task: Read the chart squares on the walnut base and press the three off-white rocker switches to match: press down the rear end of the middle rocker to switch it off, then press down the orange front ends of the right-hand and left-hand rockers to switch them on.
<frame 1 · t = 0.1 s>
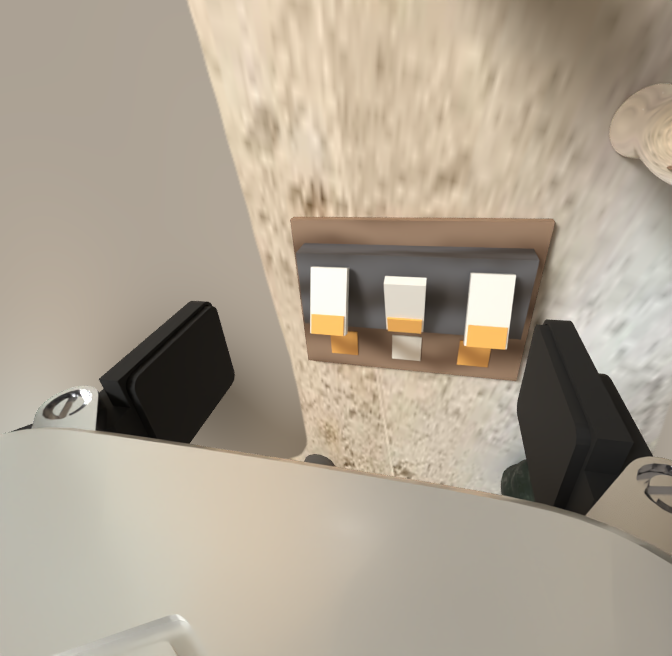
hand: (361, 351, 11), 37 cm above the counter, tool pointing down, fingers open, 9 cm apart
squash: (546, 470, 62), on the counter
rocker a: (329, 301, 46), point 7 cm above the counter, hinge at -20.0°
beige tall curved piece: (646, 122, 35), on the counter
rocker b: (404, 306, 43), point 7 cm above the counter, hinge at 20.0°
switch unit: (409, 299, 51), on the counter
rocker c: (488, 310, 41), point 7 cm above the counter, hinge at -20.0°
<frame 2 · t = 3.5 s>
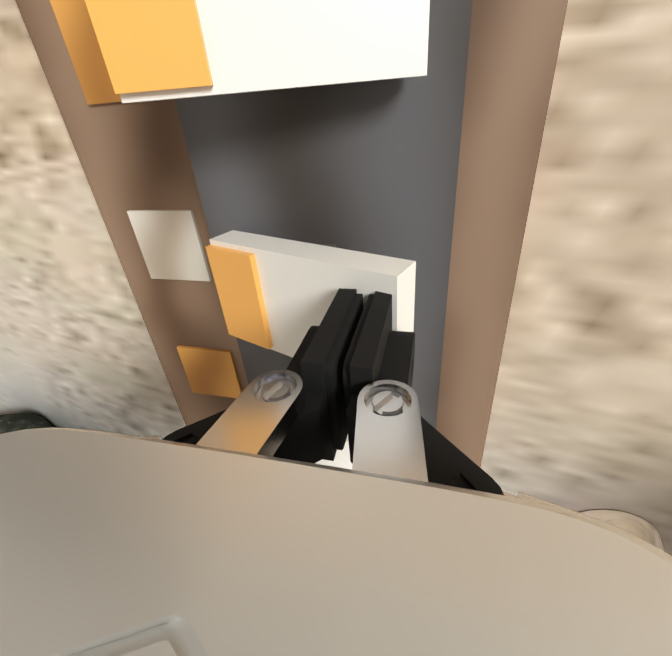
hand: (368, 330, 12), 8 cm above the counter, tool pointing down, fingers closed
squash: (62, 444, 41), on the counter
beige tall curved piece: (604, 533, 27), on the counter
rocker b: (304, 307, 14), point 7 cm above the counter, hinge at 20.0°, touching gripper
switch unit: (295, 240, 20), on the counter
rocker c: (328, 467, 19), point 7 cm above the counter, hinge at -20.0°
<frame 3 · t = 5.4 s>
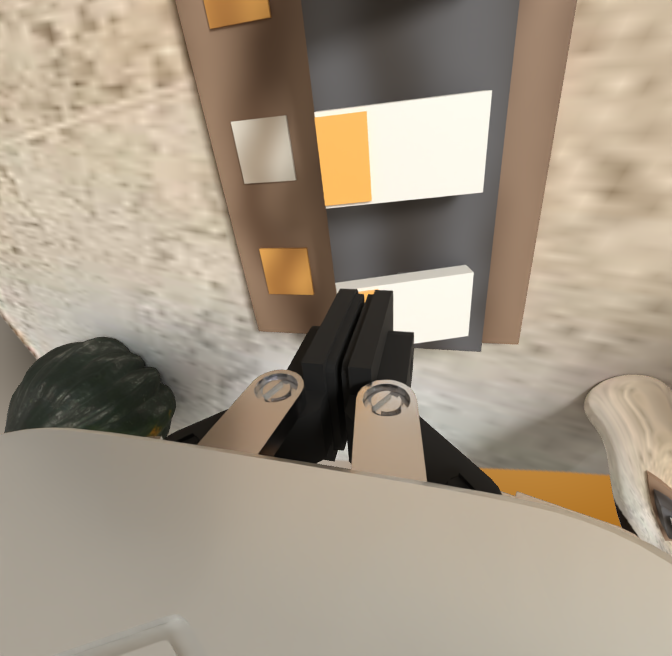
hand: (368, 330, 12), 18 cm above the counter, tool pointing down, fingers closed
squash: (135, 373, 46), on the counter
beige tall curved piece: (625, 401, 31), on the counter
rocker b: (401, 152, 19), point 7 cm above the counter, hinge at -12.9°
switch unit: (367, 139, 25), on the counter
rocker c: (404, 311, 23), point 7 cm above the counter, hinge at -20.0°
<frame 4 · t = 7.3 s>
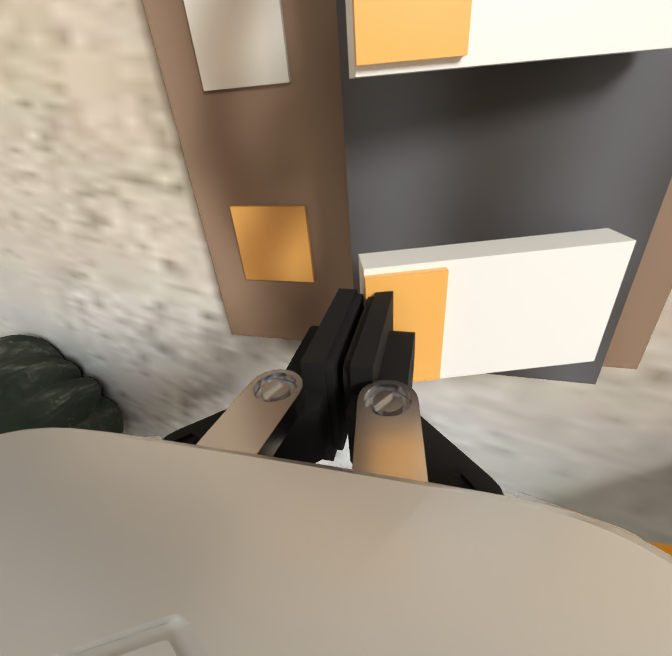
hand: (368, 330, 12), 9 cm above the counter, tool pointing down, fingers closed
squash: (73, 382, 35), on the counter
switch unit: (418, 6, 14), on the counter
rocker c: (484, 312, 13), point 7 cm above the counter, hinge at -19.5°, touching gripper
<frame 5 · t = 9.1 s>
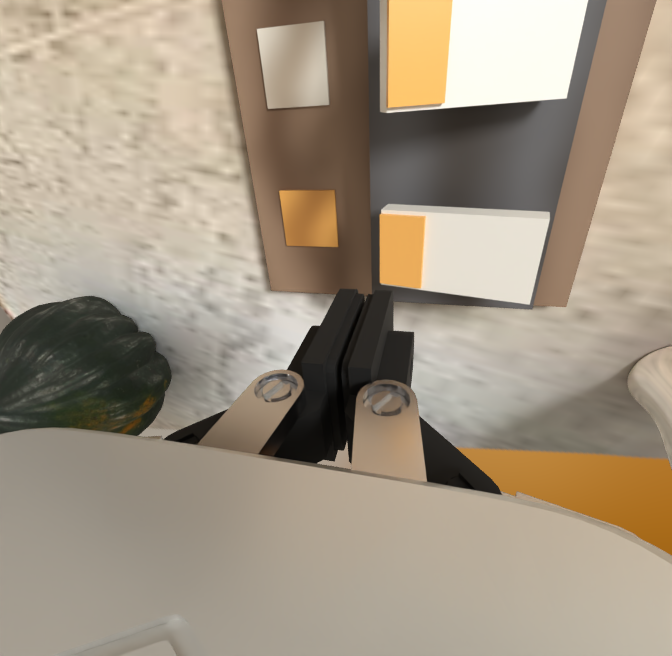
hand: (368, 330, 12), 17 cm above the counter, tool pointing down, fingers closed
squash: (126, 341, 41), on the counter
rocker b: (480, 42, 15), point 7 cm above the counter, hinge at -21.7°
switch unit: (415, 58, 22), on the counter
rocker c: (455, 253, 20), point 7 cm above the counter, hinge at 10.9°
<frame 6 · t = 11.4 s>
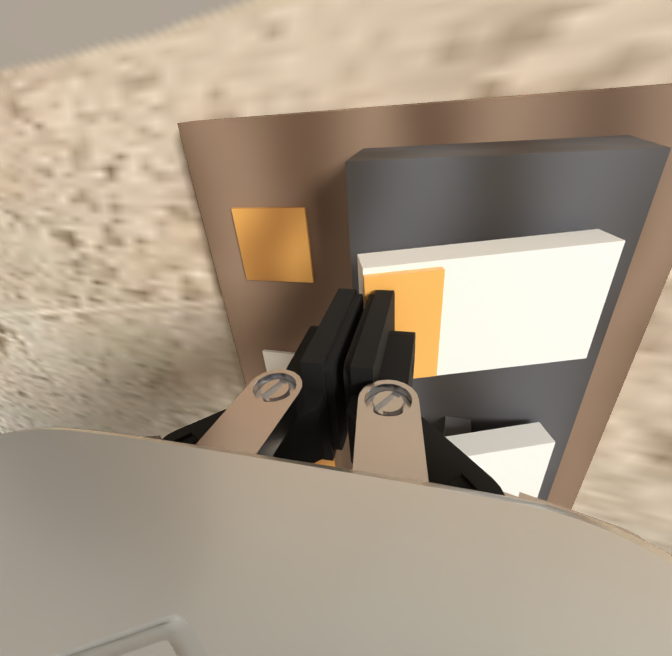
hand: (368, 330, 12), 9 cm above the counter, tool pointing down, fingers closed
rocker a: (480, 311, 13), point 7 cm above the counter, hinge at -19.8°, touching gripper
rocker b: (456, 480, 18), point 7 cm above the counter, hinge at -22.2°
switch unit: (406, 376, 24), on the counter
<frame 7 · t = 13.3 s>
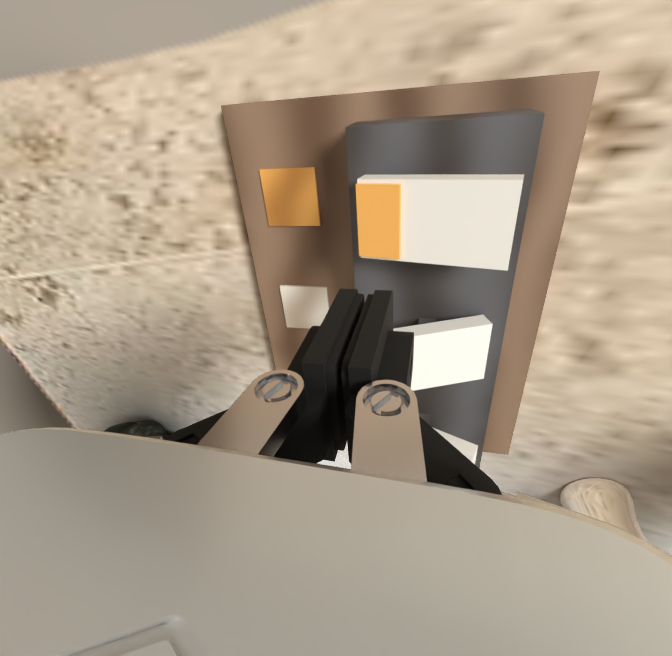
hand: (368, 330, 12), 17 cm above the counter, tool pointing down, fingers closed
squash: (166, 444, 51), on the counter
rocker a: (432, 221, 20), point 7 cm above the counter, hinge at 10.9°
beige tall curved piece: (593, 495, 38), on the counter
rocker b: (426, 357, 25), point 7 cm above the counter, hinge at -22.3°
switch unit: (391, 303, 31), on the counter
rocker c: (419, 450, 30), point 7 cm above the counter, hinge at 21.2°
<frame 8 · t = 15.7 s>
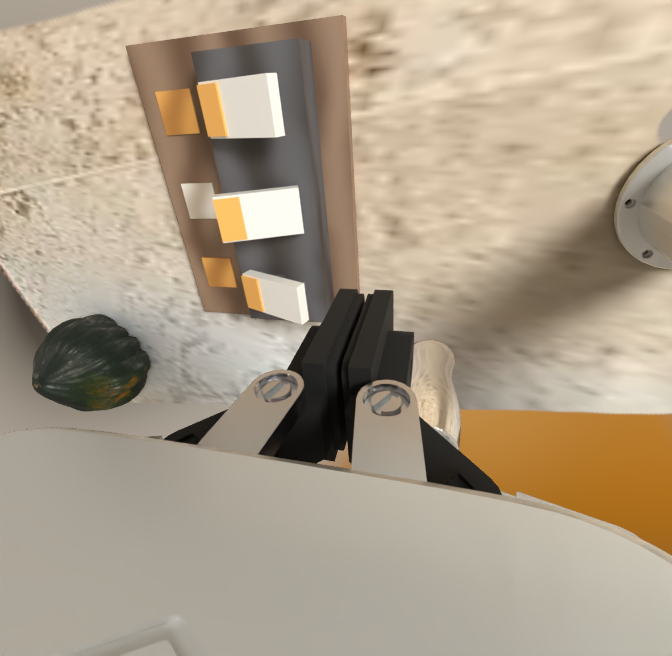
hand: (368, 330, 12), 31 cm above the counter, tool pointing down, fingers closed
squash: (121, 342, 63), on the counter
rocker a: (239, 108, 32), point 7 cm above the counter, hinge at 19.7°
beige tall curved piece: (430, 357, 50), on the counter
rocker b: (260, 214, 37), point 7 cm above the counter, hinge at -22.3°
switch unit: (260, 197, 44), on the counter
rocker c: (274, 296, 42), point 7 cm above the counter, hinge at 21.6°
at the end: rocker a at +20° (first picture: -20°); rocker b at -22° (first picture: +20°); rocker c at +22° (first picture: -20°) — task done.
